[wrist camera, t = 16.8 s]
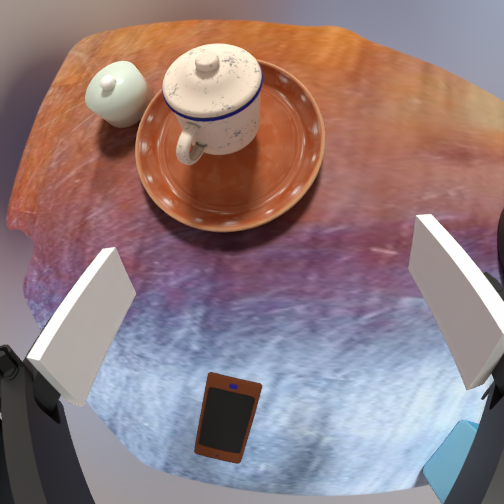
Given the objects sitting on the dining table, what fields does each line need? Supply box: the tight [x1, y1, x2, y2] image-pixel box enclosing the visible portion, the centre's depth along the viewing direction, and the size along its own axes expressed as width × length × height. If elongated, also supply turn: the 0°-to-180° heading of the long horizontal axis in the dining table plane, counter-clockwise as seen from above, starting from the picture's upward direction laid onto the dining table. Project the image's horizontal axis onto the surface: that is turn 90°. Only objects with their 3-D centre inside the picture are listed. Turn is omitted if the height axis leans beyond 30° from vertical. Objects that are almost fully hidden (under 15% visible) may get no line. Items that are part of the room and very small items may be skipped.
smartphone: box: [194, 372, 262, 464], centre depth 35 cm, size 7×1×15 cm
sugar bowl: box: [85, 61, 154, 128], centre depth 32 cm, size 8×8×7 cm
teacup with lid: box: [162, 44, 263, 165], centre depth 25 cm, size 12×9×12 cm
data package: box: [423, 420, 479, 504], centre depth 26 cm, size 12×4×12 cm, turn 154°
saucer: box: [135, 59, 325, 232], centre depth 33 cm, size 23×23×4 cm
